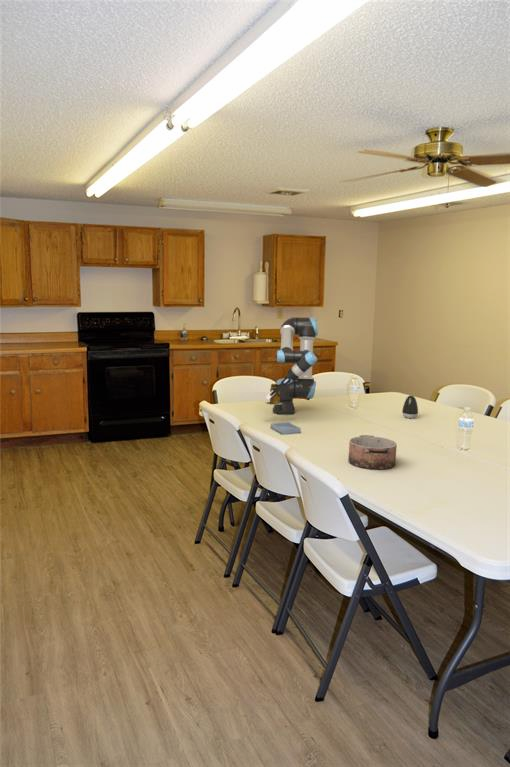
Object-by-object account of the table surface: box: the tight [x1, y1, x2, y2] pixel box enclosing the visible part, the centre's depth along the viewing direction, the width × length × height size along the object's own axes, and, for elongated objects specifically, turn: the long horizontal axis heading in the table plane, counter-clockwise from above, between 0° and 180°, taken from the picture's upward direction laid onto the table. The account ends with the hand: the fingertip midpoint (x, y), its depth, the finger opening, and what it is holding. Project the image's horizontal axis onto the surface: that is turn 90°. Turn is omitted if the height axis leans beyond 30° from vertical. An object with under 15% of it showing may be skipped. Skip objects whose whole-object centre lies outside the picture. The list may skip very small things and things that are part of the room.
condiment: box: [265, 383, 282, 406], centre depth 355 cm, size 7×8×12 cm
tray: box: [270, 421, 302, 436], centre depth 342 cm, size 12×16×3 cm
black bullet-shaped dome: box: [401, 395, 419, 419], centre depth 386 cm, size 10×10×15 cm
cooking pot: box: [348, 434, 398, 471], centre depth 280 cm, size 30×22×11 cm
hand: (268, 397), depth 357 cm, fingers closed on condiment, 6 cm apart
